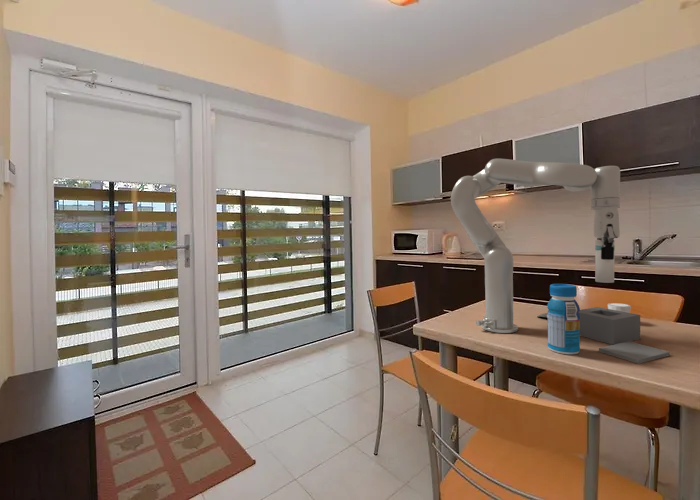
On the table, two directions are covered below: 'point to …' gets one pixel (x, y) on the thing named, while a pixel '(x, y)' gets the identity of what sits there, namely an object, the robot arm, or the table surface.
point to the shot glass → (619, 307)
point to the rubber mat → (634, 352)
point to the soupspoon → (543, 315)
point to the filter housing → (609, 325)
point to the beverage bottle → (563, 319)
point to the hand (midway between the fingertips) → (604, 258)
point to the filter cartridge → (603, 265)
